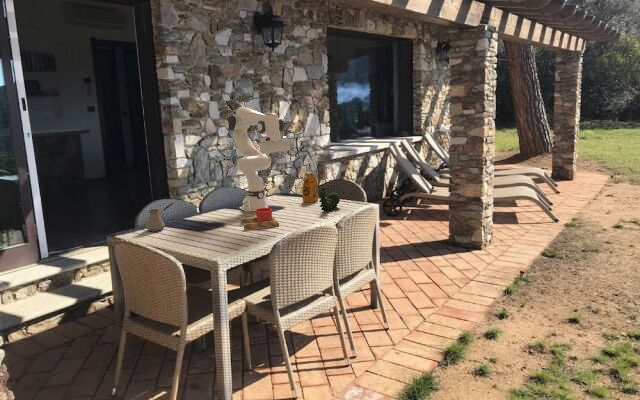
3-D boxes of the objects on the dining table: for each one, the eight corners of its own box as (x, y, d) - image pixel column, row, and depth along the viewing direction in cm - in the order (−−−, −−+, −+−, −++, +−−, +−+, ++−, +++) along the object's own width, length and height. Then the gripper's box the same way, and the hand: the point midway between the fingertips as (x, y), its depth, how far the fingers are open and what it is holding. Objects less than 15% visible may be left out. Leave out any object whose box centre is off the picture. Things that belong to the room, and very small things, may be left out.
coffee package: (300, 202, 377) (299, 173, 373) (309, 199, 388) (307, 171, 383) (311, 203, 372) (310, 174, 368) (320, 200, 383) (318, 171, 378)
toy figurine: (329, 215, 336) (344, 205, 358) (327, 188, 331) (342, 179, 352) (317, 215, 341) (332, 204, 362) (314, 188, 335) (330, 179, 357)
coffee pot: (153, 233, 304) (151, 209, 301) (142, 231, 311) (139, 207, 308) (181, 225, 321) (179, 202, 318) (170, 223, 328) (168, 201, 325)
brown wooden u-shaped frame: (274, 220, 324) (273, 215, 323) (279, 226, 308) (278, 220, 307) (241, 223, 318) (240, 218, 318) (244, 230, 302) (243, 224, 302)
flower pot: (276, 222, 317) (275, 207, 315) (268, 227, 307) (267, 211, 305) (261, 222, 321) (259, 207, 319) (253, 226, 310) (252, 211, 309)
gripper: (286, 136, 329) (289, 157, 331) (257, 139, 320) (260, 161, 321) (290, 135, 324) (293, 157, 325) (261, 139, 314) (264, 161, 316)
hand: (276, 159), depth 323 cm, fingers open, 8 cm apart
